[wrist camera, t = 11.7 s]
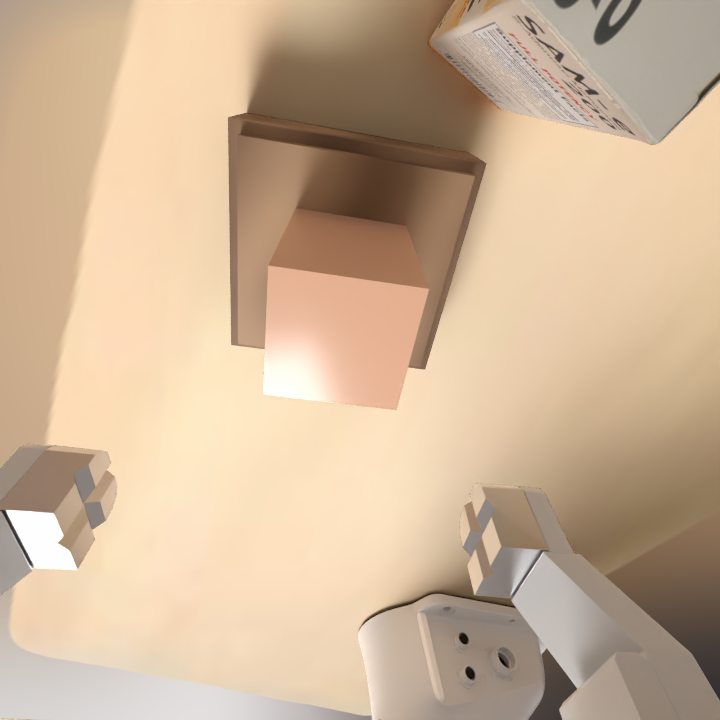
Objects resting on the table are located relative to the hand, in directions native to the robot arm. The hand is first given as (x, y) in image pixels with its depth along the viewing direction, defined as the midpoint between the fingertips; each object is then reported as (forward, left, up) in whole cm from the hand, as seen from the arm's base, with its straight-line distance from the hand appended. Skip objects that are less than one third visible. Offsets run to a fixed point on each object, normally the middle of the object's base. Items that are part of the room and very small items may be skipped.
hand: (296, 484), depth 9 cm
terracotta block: (-1, 0, -13) cm, 13 cm away
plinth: (-1, 0, -17) cm, 17 cm away
